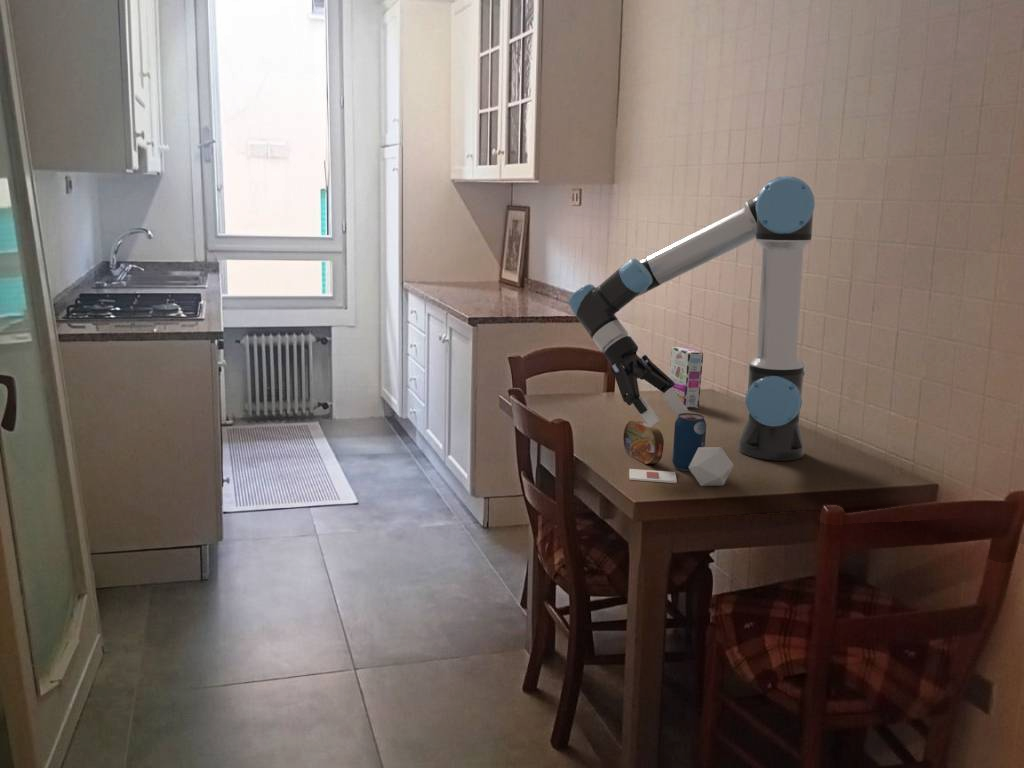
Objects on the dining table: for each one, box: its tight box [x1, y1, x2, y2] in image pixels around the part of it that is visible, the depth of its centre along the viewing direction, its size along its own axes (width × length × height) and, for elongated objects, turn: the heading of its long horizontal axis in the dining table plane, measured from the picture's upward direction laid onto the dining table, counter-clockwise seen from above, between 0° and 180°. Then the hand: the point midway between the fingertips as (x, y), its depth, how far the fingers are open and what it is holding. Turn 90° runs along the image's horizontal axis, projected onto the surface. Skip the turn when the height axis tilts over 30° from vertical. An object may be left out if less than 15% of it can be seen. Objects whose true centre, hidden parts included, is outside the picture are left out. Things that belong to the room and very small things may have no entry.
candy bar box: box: [668, 346, 704, 410], centre depth 278 cm, size 11×5×16 cm, turn 17°
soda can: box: [671, 412, 707, 472], centre depth 215 cm, size 7×7×12 cm
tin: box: [622, 420, 665, 465], centre depth 221 cm, size 15×3×8 cm, turn 21°
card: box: [628, 468, 678, 484], centre depth 208 cm, size 10×7×1 cm
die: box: [688, 446, 734, 487], centre depth 204 cm, size 8×9×10 cm
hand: (669, 418), depth 217 cm, fingers open, 13 cm apart
